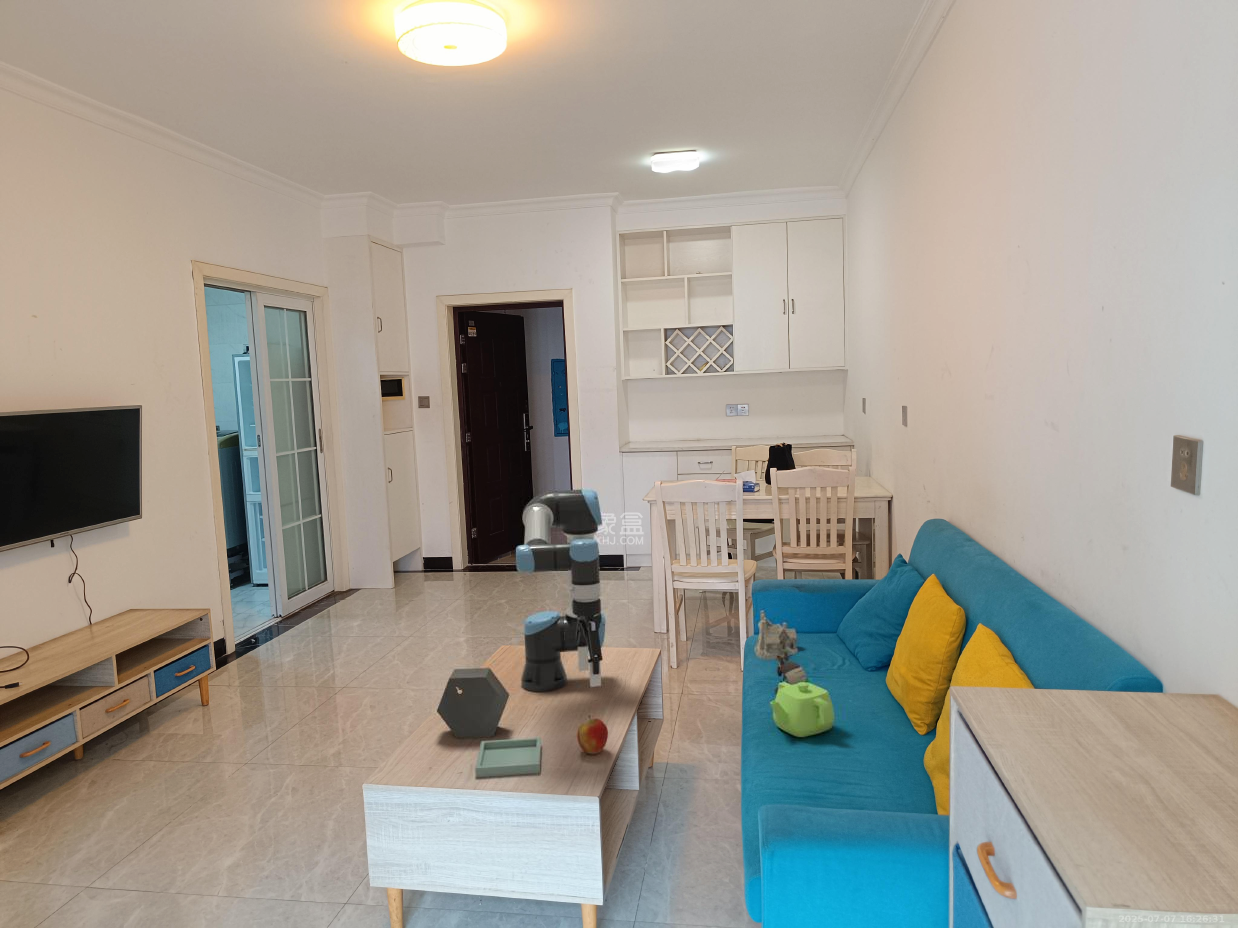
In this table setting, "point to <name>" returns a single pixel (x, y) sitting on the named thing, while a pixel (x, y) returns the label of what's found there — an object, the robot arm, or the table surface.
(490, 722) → the grey hexagonal block
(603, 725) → the apple
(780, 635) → the ceramic cottage
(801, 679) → the figurine
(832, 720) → the teapot
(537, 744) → the dish
